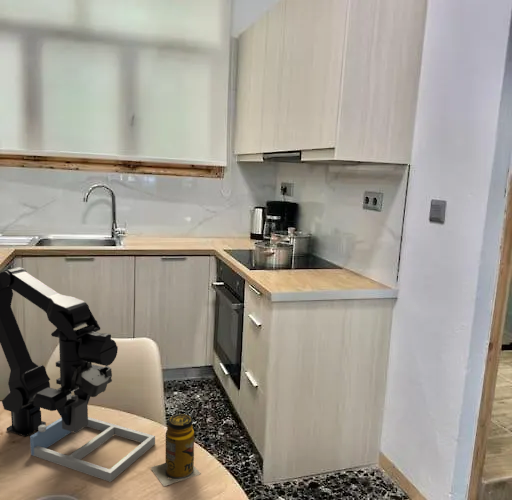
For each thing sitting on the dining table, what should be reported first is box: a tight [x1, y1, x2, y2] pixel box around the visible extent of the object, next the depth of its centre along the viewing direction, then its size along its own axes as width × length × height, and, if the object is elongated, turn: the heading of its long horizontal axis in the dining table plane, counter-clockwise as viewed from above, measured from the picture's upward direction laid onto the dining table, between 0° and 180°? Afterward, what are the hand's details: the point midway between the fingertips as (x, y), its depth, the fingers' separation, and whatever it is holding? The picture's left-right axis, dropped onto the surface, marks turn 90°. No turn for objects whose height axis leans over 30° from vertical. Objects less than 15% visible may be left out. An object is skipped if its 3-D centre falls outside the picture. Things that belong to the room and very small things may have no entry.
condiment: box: [150, 413, 201, 487], centre depth 108 cm, size 7×8×12 cm
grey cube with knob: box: [62, 394, 89, 433], centre depth 117 cm, size 4×4×8 cm
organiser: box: [29, 416, 156, 483], centre depth 115 cm, size 22×16×6 cm
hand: (74, 420), depth 117 cm, fingers closed on grey cube with knob, 4 cm apart
